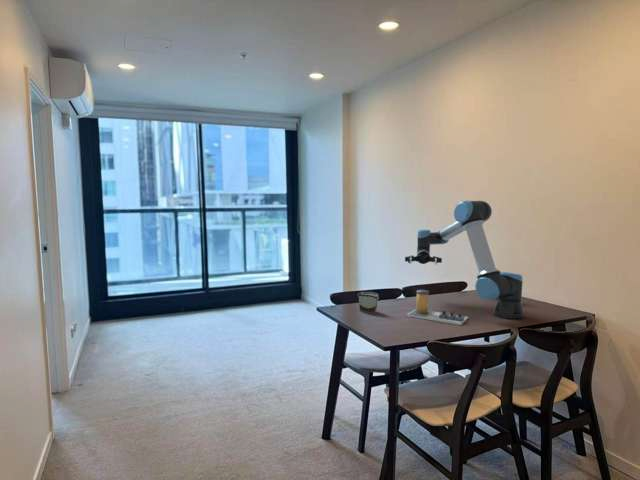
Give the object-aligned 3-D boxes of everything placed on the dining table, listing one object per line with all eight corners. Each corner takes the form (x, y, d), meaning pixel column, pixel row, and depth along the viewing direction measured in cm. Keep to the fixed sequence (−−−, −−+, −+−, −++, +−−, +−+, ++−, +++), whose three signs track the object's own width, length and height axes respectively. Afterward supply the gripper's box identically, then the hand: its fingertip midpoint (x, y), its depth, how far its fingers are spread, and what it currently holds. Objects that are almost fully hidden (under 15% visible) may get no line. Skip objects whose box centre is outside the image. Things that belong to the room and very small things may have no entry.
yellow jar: (429, 312, 235) (430, 290, 234) (425, 314, 230) (426, 293, 228) (418, 310, 238) (419, 289, 237) (413, 312, 233) (414, 291, 232)
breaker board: (467, 319, 227) (468, 310, 227) (460, 325, 216) (461, 315, 216) (416, 311, 242) (416, 302, 242) (407, 316, 232) (407, 307, 231)
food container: (382, 311, 241) (382, 293, 240) (377, 313, 236) (377, 295, 235) (362, 308, 247) (362, 290, 246) (357, 310, 242) (357, 292, 241)
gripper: (444, 264, 259) (446, 269, 238) (401, 262, 265) (399, 267, 244) (445, 251, 258) (446, 255, 238) (402, 250, 264) (400, 254, 244)
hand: (423, 261), depth 241 cm, fingers open, 13 cm apart
